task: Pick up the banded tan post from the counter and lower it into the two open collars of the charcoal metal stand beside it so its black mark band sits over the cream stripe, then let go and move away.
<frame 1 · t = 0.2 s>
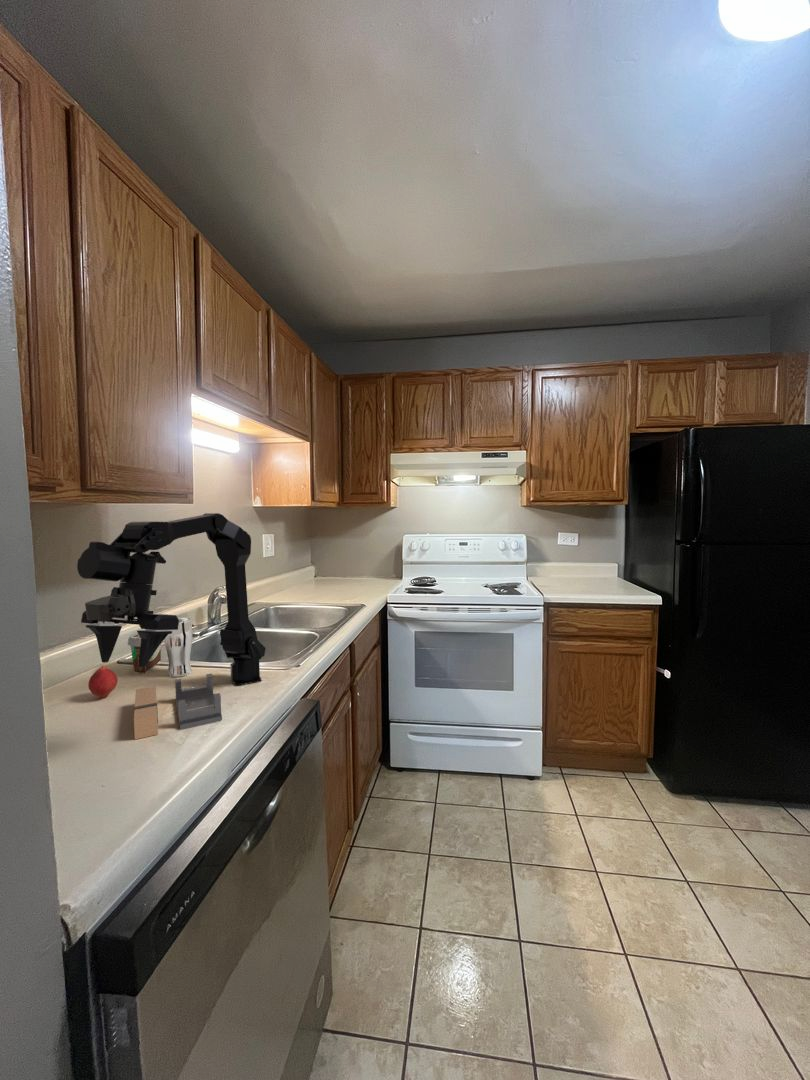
hand: (123, 664, 88), 15 cm above the worktop, tool pointing down, fingers open, 9 cm apart
banded tan post: (146, 719, 98), on the worktop
food container: (142, 668, 131), on the worktop
onion: (103, 698, 110), on the worktop
collar stand: (197, 709, 103), on the worktop
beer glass: (179, 674, 126), on the worktop
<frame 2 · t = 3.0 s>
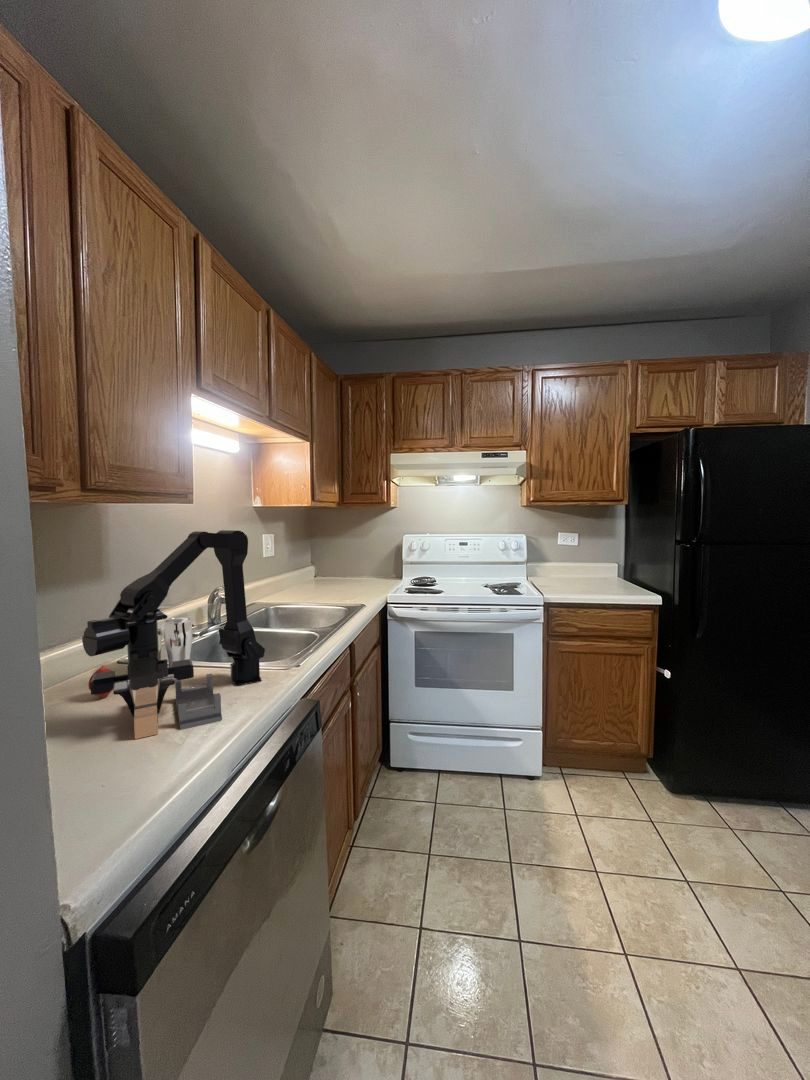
hand: (146, 714, 98), 1 cm above the worktop, tool pointing down, fingers closed on banded tan post, 4 cm apart
banded tan post: (146, 719, 98), on the worktop, touching gripper
everything else where it was.
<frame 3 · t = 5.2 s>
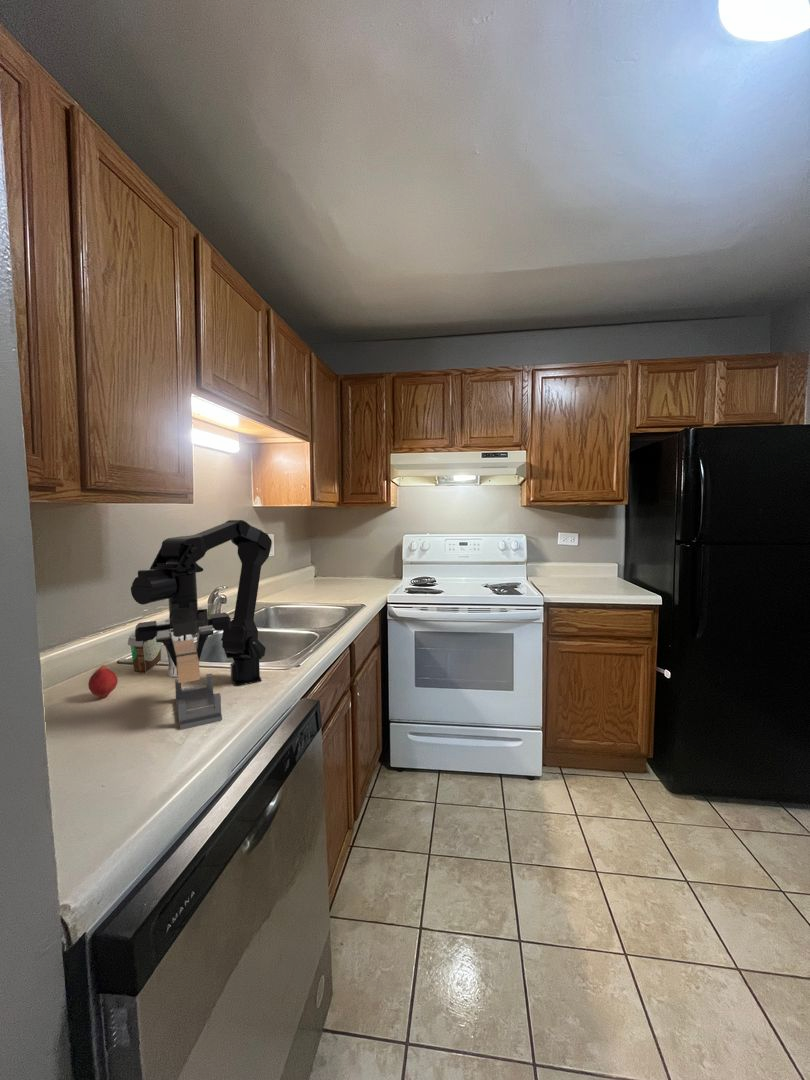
hand: (186, 663, 102), 11 cm above the worktop, tool pointing down, fingers closed on banded tan post, 4 cm apart
banded tan post: (186, 668, 102), point 10 cm above the worktop, touching gripper
everything else where it was.
when the fingers open (5 cm above the worktop, at t = 7.2 s): banded tan post drops 2 cm, resting on collar stand.
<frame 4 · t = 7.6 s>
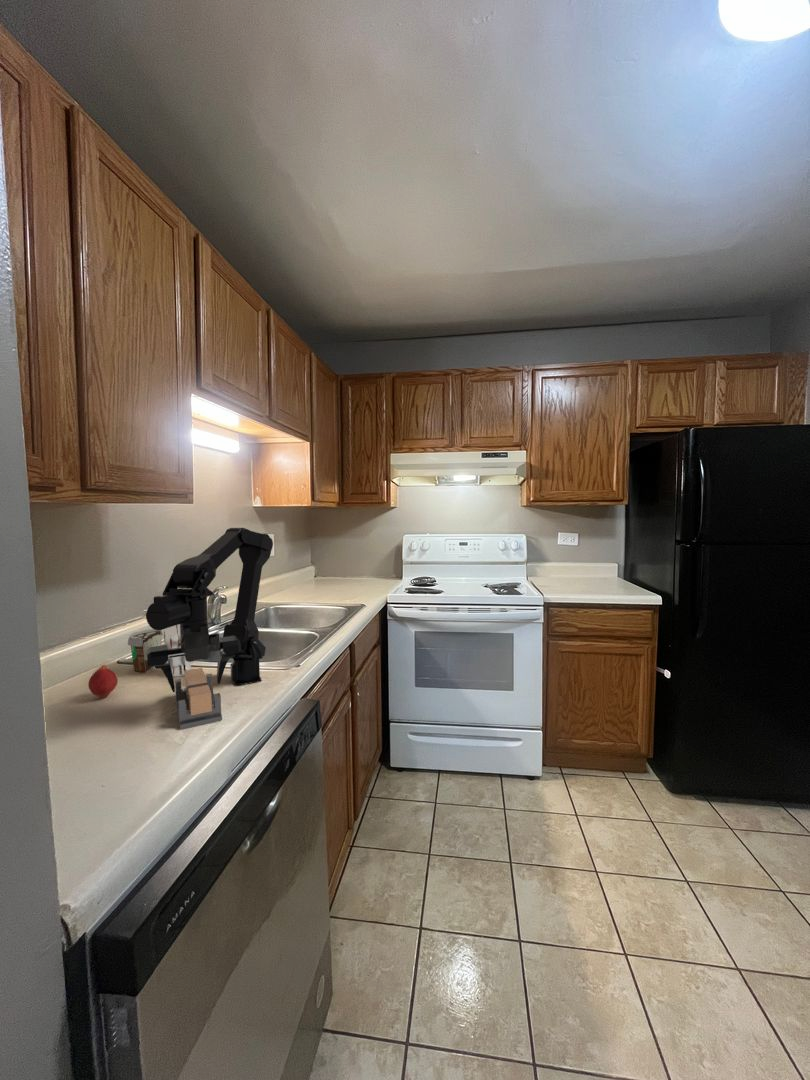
hand: (196, 687, 103), 5 cm above the worktop, tool pointing down, fingers open, 9 cm apart
banded tan post: (197, 698, 103), point 2 cm above the worktop, touching collar stand
everything else where it was.
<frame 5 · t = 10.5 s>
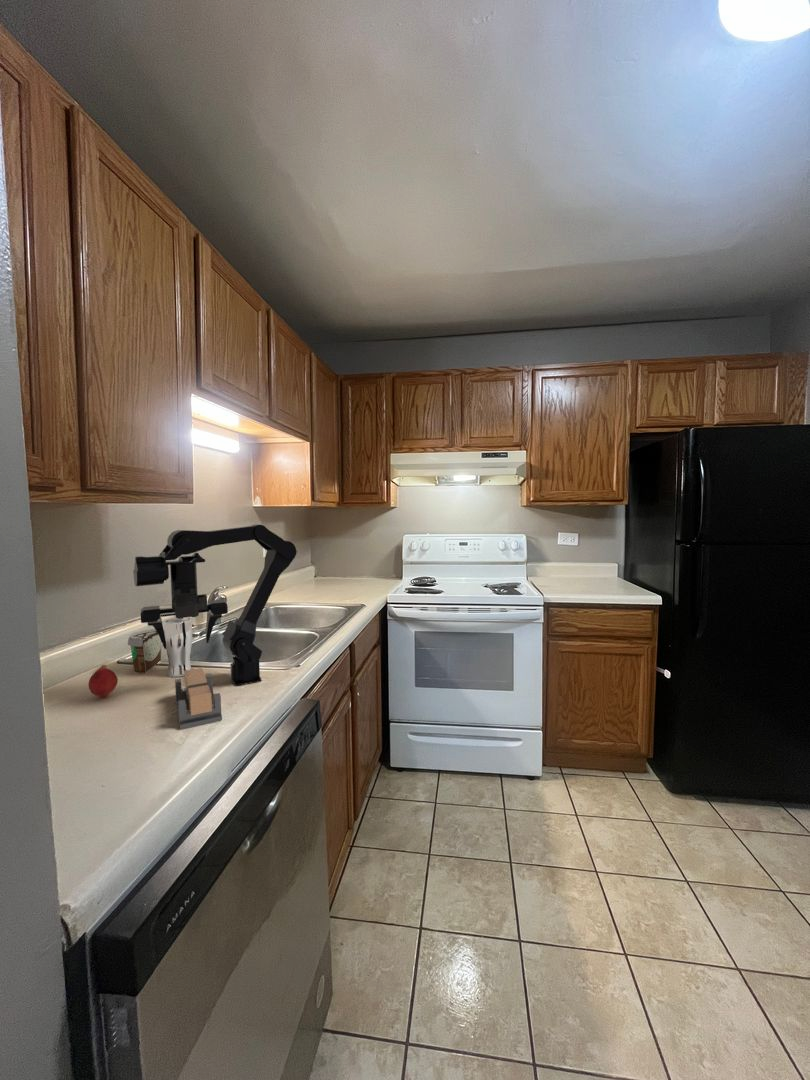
hand: (186, 645, 111), 12 cm above the worktop, tool pointing down, fingers open, 9 cm apart
nothing on the worktop moved.
at the end: banded tan post 0.1 cm off-centre on the collar stand, point 2.5 cm above the collar stand's base; banded tan post tilted 0°; the gripper is holding nothing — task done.
